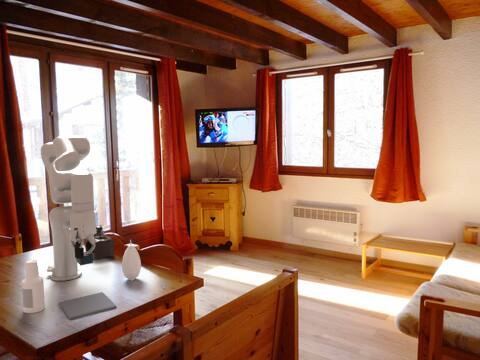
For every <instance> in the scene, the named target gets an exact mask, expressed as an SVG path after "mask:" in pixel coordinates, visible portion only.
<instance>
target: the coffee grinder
mask: <svg viewBox="0 0 480 360" xmlns="http://www.w3.org/2000/svg"><path fill="white" fill-rule="evenodd" d="M96 229H97V231H96V236H95V242H96V243H95V252H94V253H91V254H93V260H95V261H96V260H103V259H109V258H113V257H114V256H115V249H114V248H115V244H114V243H115V239H114V238H112V237H110V236H108V235H105V231H104V229H103V226H102V225H101V224H100V225H97V226H96Z"/></svg>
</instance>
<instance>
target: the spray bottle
mask: <svg viewBox="0 0 480 360" xmlns="http://www.w3.org/2000/svg"><path fill="white" fill-rule="evenodd" d="M25 263H26V264H25V265H26V266H25V278H24V279H23V280H22V281H21V288H22V292H21V293H22V305H23V308H22V309H23V312H24V313H25V314H37V313H40V312H41V311H43V310H44V309H45V308H46V304H45V287H44V286H45V285H44V277H43V276H40V275H39V274H40V273H39V265H38V260H37V259H30V260H27V261H25Z"/></svg>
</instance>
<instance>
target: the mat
mask: <svg viewBox="0 0 480 360" xmlns="http://www.w3.org/2000/svg"><path fill="white" fill-rule="evenodd" d="M58 304H59V307H61V309H62V311H63V312H64V313H65V315H66V316H67V318H68V320H74V319H79V318H83V317H85V316H87V317H88V316H89V315H90V316H91V315H94V314H97V313H101V312H106V311H109V310H113V309H117V305H116V304H115V303H114V301H112V300H111V299H110V298H109V297H108V296H107V295H106V294H105V293H104V292H103V291H101V292H97V293H92V294H88V295H83V296H80V297H75V298H70V299H67V300H62V301H58Z"/></svg>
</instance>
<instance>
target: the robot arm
mask: <svg viewBox="0 0 480 360" xmlns="http://www.w3.org/2000/svg"><path fill="white" fill-rule="evenodd" d="M90 150H91V144H90V141H89V139H88V138H87V137H86V136H83V135H60V136H57V137H55V138H54V139H53V140H52V141H51V142H46V143H43V144H42V145H41V147H40V157H41V161H42V163H43V165H44V168H45V170H46V171H47V176H48V183H49V193H50V198H51V202H52V203H53V204H55V205H56V204H57V205H58V204H59V205H63V204H71V205H65V206H57V207H54V208H52V209H51V210H50V212H49V214H48V218H49V223H50V227H51V235H52V248H53V249H52V250H53V251H52V253H53V254H52V255H53V265H49V266H48V267H47V269H46V272H48V273H49V272H50V273H51V274H50V279H51V280H53V281H58V282H62V281H63V282H64V281H70V280H71V281H72V280H75V279H77V278H79V277H81V276H82V271H81V270H80V269H78V262H77V259H83V258H84V252H87V251H89V250H90V249H91V247H92V244H91V243H90V242H89V241H88V240H87V238H88V236H89V235H91V236H92V237H93V238H94V240H95V236H97V235H96V231H97V229H96V227H97V226H96V216H95V215H96V214H95V196H94V176H93V174H92V173H91V172H90V171H89V170H84V169H83V170H74V169H76V168H77V167H78V166H79V165H80V163H81V161H82V160H84V159H85V158H87V156H89V153H90V152H91V151H90ZM85 240H86V241H85ZM84 242H85V248H84V247H83V245H84ZM72 244H73V246H74V248H75V250H74V249H73V247H72ZM84 249H85V250H84ZM94 252H95V248H94V250H93V251H92V252H91V253H94Z"/></svg>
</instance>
